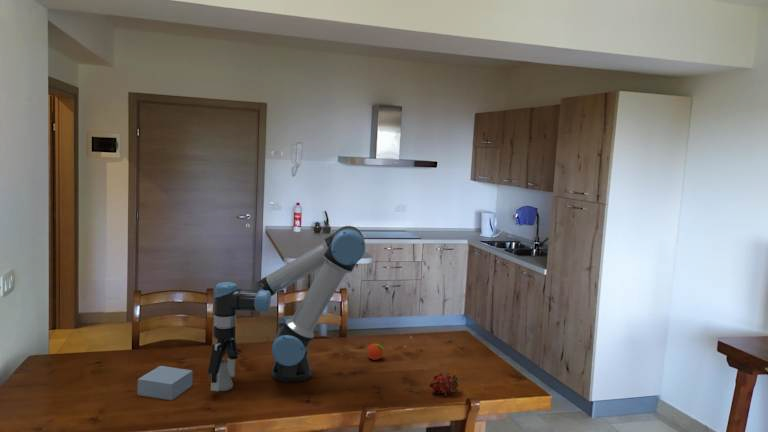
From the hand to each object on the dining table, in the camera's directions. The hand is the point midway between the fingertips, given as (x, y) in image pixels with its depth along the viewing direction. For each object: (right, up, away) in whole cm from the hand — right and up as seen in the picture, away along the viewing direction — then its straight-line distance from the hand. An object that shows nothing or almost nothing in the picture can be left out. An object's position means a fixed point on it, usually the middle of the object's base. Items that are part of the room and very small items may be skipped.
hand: (223, 383), depth 199 cm
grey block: (-19, -1, -5) cm, 20 cm away
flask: (0, -2, 0) cm, 2 cm away
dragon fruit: (+80, -6, +6) cm, 81 cm away
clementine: (+55, -1, +37) cm, 66 cm away
